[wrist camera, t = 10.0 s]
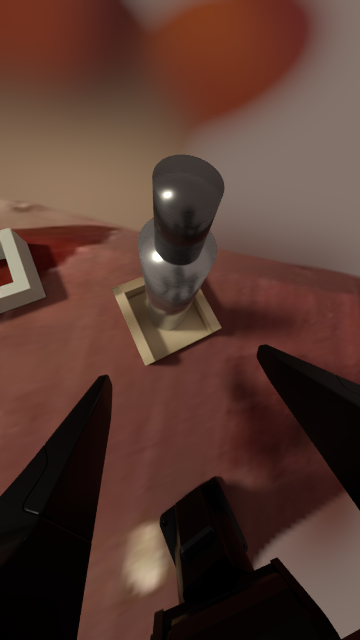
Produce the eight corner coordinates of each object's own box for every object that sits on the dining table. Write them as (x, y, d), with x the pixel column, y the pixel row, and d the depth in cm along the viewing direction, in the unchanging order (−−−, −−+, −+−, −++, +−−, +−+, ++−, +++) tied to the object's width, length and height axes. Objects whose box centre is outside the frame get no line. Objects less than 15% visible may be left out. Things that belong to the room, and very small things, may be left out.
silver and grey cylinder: (181, 332, 19) (247, 241, 5) (147, 328, 19) (113, 216, 5) (184, 301, 20) (246, 153, 6) (152, 296, 20) (138, 127, 6)
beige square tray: (213, 332, 21) (221, 327, 18) (147, 365, 19) (145, 365, 16) (181, 273, 22) (185, 260, 20) (118, 298, 21) (111, 288, 18)
